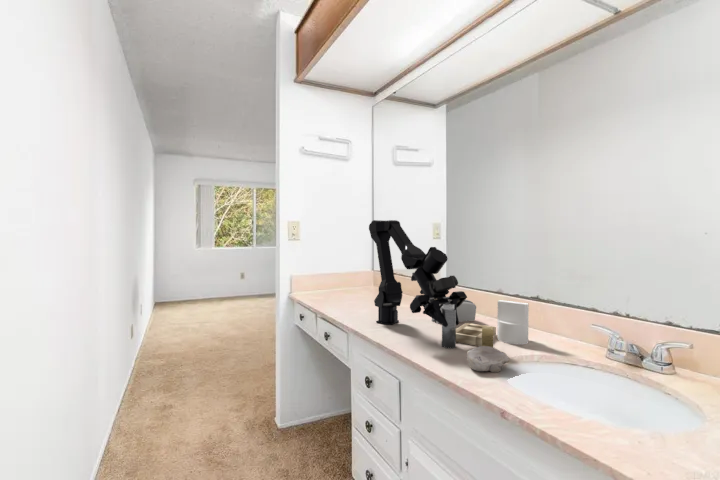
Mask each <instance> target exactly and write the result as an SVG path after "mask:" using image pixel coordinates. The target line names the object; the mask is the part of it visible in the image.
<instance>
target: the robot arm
mask: <svg viewBox="0 0 720 480" xmlns="http://www.w3.org/2000/svg"><path fill="white" fill-rule="evenodd" d="M368 231H369V234H370V238H371V239H372V241H374V242H375V244H376V250H377V259H378V265H379V272H380V278H381V280H380V284H379V286H378V293H377V295H376V296H375V299H374V300H373V301H374V306H375V307H377V308H378V309H377V310H378V311H377V312H378V316H377V317H378V318H377V319H378V320H375V322H376V323H378V324H384V325H389V326H390V325H391V326H392V325H394V324H396V323H399V318H398V317H399V314H398V313H399V312H398V309H397V308H398V307H400V306H401V303H402V299H403V293H404V292H403V289H402V283H401V282H400V281H397V279H396V278H395V274H394V267H393V260H392V254H391V247H390V240H391V239H392V240H393V241H394V244H395V245H396V246H397V248H398V249H399V251H400V253H401V256H400V259H401V261H402V263H403V266H404V268H405V269H406V270H415V271H414V272H412V276H411V277H410V281H411V282H417V284H418V286H419V288H420V289H421V290H420V291H419V294H417V295H416V296H414V298H413V300H412V301H411V303H409V309H410V311H411V313H412V314H417V313H418V314H419V313H420V312H422V314H423V315H426V316H428V317H430V318H431V319H432V318H433V319H434V320H436V321H437V322H439V323H440V325H441V326H442V325H443V326H444V327H447V325H448V324H447V322H446V320H445V318H444V316H443V314H442V312H441V310H440V308H439V304H443V305H444V304H446V303H448V304H454V309H456V326H458V325H459V323H460V322H459V320H458V315H457V307H459V306H460V305H461V304H462V303H463V302H464V300H465V299H466V300H467V298H468V296H467V294H466V292H464V291H462V290H457V291H453V292H451V294H450V295H449V296H447V295H448V294H449V293H450V291H449V290H452V289H456V287H457V286H458V285H459V281H458V279H457V277H456V276H455V275H449V276H447V277H441V278H439V279H437V278H436V276H435V275H436V274H438V273H439V272H440V271H441V270H442V268H443V267H444V265H445V264H446V263H447V261H448V256H447V254H446V253H444V252H443V251H442V250H440V249H438V248H437V247H436V246H430V247H429V249H428V251H427V252H426V253H425V252H424V251H423V250H422V249H421V248H420V247H418V246H416V245H414V243H413V242H412V240H411V239H410V237H409V236H408V235H407V233H406V232H405V230H404V229H403V227H402V226H401V222H400V221H399V220H397V219H395V220H393V219H392V220H391V219H389V220H378V219H377V220H372V221H371V222H370V223H369V225H368ZM421 307H423V309H424V310H423V311H422V308H421ZM436 321H435V322H436Z"/></svg>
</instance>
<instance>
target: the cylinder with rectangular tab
mask: <svg viewBox="0 0 720 480" xmlns="http://www.w3.org/2000/svg"><path fill="white" fill-rule="evenodd" d="M529 305H530V304H529V303H528V302H521V301H512V300H505V299H499V300H497V328H496V336H497V340H498V341H499V342H502V343H506V344H510V345H526V344H528V343H529V316H530V315H529V311H530V310H529V309H530V308H529V307H530V306H529Z"/></svg>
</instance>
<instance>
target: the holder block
mask: <svg viewBox="0 0 720 480" xmlns="http://www.w3.org/2000/svg"><path fill="white" fill-rule="evenodd" d="M482 326H488V327H493V337H495V336H497V326H493V325H484V324H476V323H470V322H465V323H463V324H462V325H460V326H459V327H456V343H460V344H465V345H471V346H476V347H479V346H482Z"/></svg>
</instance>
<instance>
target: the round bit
mask: <svg viewBox="0 0 720 480" xmlns="http://www.w3.org/2000/svg"><path fill="white" fill-rule="evenodd" d="M442 314H443V316H444V318H445V320H446V322H447V324H448V325H447V327H444V326H443V325H442V324H441V347H443V349H444V348H445V349H455V348H456V347H457V342H456V329H457V325H456V309H454V304H448V303H446V304H444V308H443V309H442Z"/></svg>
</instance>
